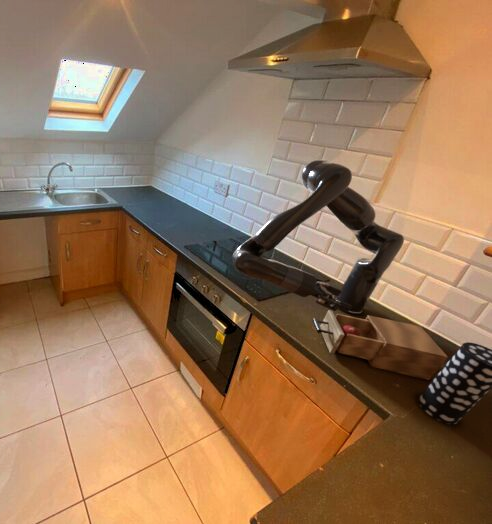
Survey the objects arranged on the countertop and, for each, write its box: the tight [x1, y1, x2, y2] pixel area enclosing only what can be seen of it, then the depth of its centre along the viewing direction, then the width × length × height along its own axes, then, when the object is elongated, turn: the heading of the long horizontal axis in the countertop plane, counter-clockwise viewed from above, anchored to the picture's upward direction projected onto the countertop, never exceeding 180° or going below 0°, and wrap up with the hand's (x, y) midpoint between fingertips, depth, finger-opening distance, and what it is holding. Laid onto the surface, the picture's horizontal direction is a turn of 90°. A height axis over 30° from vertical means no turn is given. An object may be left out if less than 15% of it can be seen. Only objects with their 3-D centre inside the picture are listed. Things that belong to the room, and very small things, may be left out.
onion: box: [341, 326, 360, 342], centre depth 94 cm, size 6×6×8 cm
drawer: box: [312, 309, 384, 361], centre depth 96 cm, size 19×12×8 cm, turn 76°
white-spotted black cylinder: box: [417, 341, 492, 425], centre depth 75 cm, size 8×8×20 cm
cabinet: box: [364, 314, 448, 381], centre depth 93 cm, size 16×14×10 cm
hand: (344, 300), depth 92 cm, fingers open, 8 cm apart
